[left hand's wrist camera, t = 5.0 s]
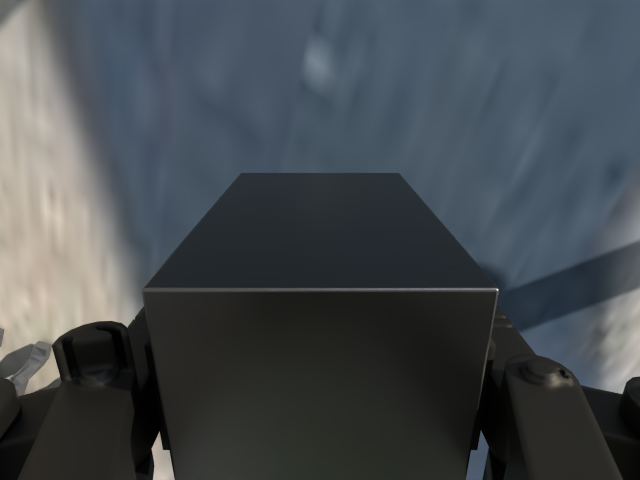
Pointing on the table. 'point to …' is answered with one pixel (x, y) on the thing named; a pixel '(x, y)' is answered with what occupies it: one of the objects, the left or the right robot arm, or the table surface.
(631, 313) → the table surface
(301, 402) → the bar
